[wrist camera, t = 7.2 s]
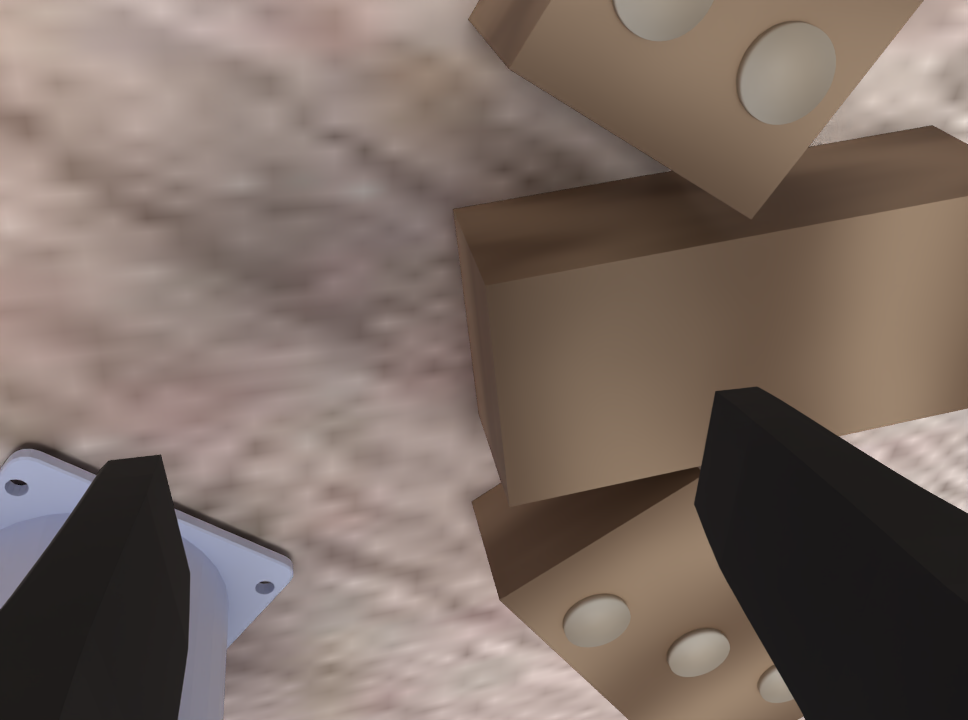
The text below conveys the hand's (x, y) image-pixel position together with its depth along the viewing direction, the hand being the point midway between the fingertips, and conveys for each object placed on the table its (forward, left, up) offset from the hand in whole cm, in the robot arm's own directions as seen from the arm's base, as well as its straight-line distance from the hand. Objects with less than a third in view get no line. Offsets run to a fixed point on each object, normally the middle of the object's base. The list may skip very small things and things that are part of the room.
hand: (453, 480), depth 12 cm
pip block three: (-5, -15, -10) cm, 18 cm away
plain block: (+3, -8, -10) cm, 13 cm away
